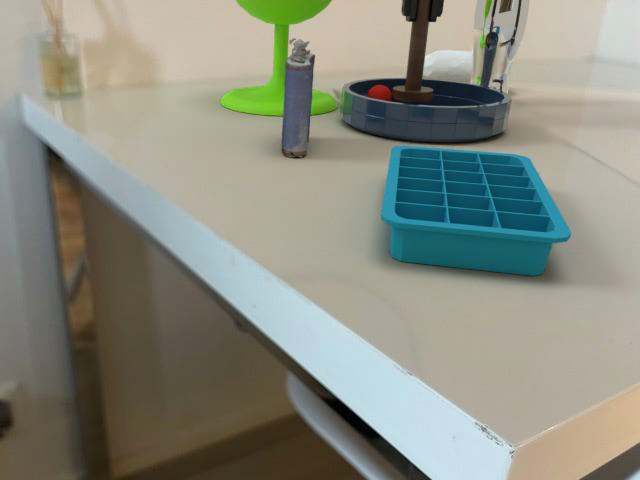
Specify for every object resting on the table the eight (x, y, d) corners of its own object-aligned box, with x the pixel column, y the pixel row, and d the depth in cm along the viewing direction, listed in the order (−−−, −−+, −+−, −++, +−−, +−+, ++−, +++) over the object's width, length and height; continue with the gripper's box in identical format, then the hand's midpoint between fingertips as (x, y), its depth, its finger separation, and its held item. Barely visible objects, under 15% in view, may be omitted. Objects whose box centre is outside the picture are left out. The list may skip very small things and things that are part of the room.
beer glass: (465, 95, 100) (482, -14, 93) (513, 100, 97) (535, -12, 90) (456, 103, 94) (474, -13, 87) (507, 108, 91) (530, -11, 85)
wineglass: (241, 118, 81) (243, -46, 73) (207, 95, 95) (205, -46, 87) (358, 112, 86) (371, -42, 78) (309, 91, 100) (317, -43, 92)
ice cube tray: (520, 188, 59) (527, 155, 57) (564, 285, 41) (576, 240, 40) (388, 176, 61) (391, 144, 60) (375, 264, 43) (380, 221, 42)
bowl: (476, 110, 90) (481, 79, 88) (530, 146, 72) (537, 109, 71) (332, 106, 90) (334, 76, 88) (351, 142, 72) (354, 105, 70)
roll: (407, 81, 110) (411, 45, 108) (482, 86, 107) (488, 50, 105) (403, 87, 105) (408, 49, 103) (482, 92, 102) (489, 54, 100)
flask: (306, 158, 66) (312, 44, 61) (277, 157, 66) (281, 43, 61) (310, 137, 74) (316, 35, 69) (284, 135, 74) (288, 34, 70)
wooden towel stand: (427, 95, 86) (442, -26, 80) (436, 102, 82) (452, -25, 75) (388, 94, 86) (400, -27, 80) (395, 102, 82) (408, -26, 75)
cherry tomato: (392, 84, 85) (367, 82, 85) (394, 87, 82) (368, 85, 82) (389, 109, 86) (364, 108, 86) (391, 113, 83) (365, 112, 83)
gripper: (383, -156, 69) (368, 23, 76) (515, -154, 69) (487, 25, 76) (371, -146, 75) (359, 18, 83) (492, -144, 75) (468, 19, 83)
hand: (420, 20), depth 80 cm, fingers closed on wooden towel stand
